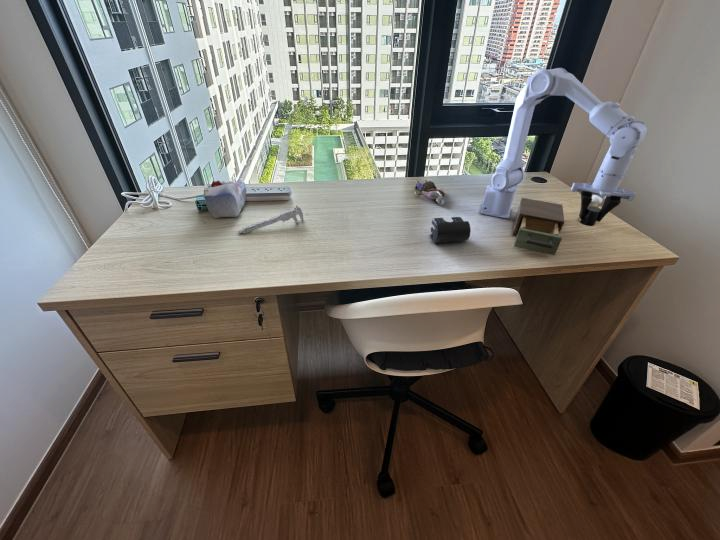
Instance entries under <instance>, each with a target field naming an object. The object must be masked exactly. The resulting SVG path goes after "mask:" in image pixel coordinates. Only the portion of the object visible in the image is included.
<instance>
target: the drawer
mask: <svg viewBox="0 0 720 540" xmlns="http://www.w3.org/2000/svg"><path fill="white" fill-rule="evenodd" d="M562 240H563V235H560V233H559V230H558V223H555V222H549V221H544V220H539V219H533V218H528V217H523V218H522V221H521V223H520V226H519V230H518V235H517V236H516V238H515V241H514V244H513V247H514V248H517V249H523V250H528V251H530V252H531V251H532V252H537V253H541V254H545V255H551V256H555V255H556V254H557V252H558V249H559V247H560V244H561V242H562Z"/></svg>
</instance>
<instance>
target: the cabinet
mask: <svg viewBox="0 0 720 540" xmlns="http://www.w3.org/2000/svg"><path fill="white" fill-rule="evenodd" d="M523 217H528V218H533V219H539V220H544V221H549V222H555V223H558V230H559V234H560V233H561V231H562V229H563V226H564V224H565V215H564V206H563V204H561V203H555V202H548V201H544V200H537V199H532V198H525V197H521V199H520V202H519V205H518V208H517V211H516V214H515V217H514V224H513V229H512V230H513V231H512V236H515V237H517V235H518V230H519V226H520V223H521V221H522V218H523Z"/></svg>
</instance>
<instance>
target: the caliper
mask: <svg viewBox="0 0 720 540" xmlns="http://www.w3.org/2000/svg"><path fill="white" fill-rule="evenodd" d="M292 207H293V209H289V210H286V211H284V212H281V213H279V215H276V216H273V217H271V218H268V219H265V220H262V221H259V222H256V223H253V224H250V225H248V226H245V227H242V229H240V230H239V231H238V233H239V234H242V233H244V234H248V233H250V232H252V231H256V230H258V229H261V228H263V227H267V226H269V225H273V224H275V223H278V222H282V223H285V222H289V220H290V219H293V221H294V222H295V223H296V224H299V221H298V218H297V215H298V216H299V218H300V221H301V223H303V222H304V214H303V210H302V209H301V207H300V206H298V204H296V205H295V206H292Z"/></svg>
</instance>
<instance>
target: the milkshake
mask: <svg viewBox="0 0 720 540" xmlns="http://www.w3.org/2000/svg"><path fill="white" fill-rule="evenodd" d="M605 199H606V196H603V197H601V196H600V195H596V194H592V201H591V202H590V204H589V206H594V207H598V208H600V206H601V204H603V201H604V200H605ZM580 220H581V219H580V218H578V221H579V222H580Z"/></svg>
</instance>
